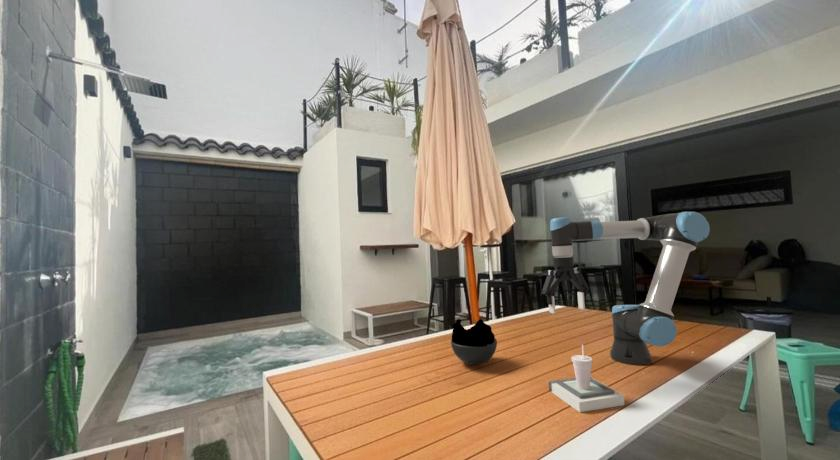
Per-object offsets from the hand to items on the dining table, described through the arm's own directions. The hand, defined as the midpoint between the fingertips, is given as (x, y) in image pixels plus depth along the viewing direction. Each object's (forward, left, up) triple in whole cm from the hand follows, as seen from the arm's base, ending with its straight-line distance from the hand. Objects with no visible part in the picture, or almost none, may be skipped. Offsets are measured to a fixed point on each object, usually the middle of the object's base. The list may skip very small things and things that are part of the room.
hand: (567, 310), depth 132 cm
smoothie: (+8, +18, -22) cm, 29 cm away
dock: (+8, +18, -25) cm, 31 cm away
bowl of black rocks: (+31, -23, -25) cm, 46 cm away
